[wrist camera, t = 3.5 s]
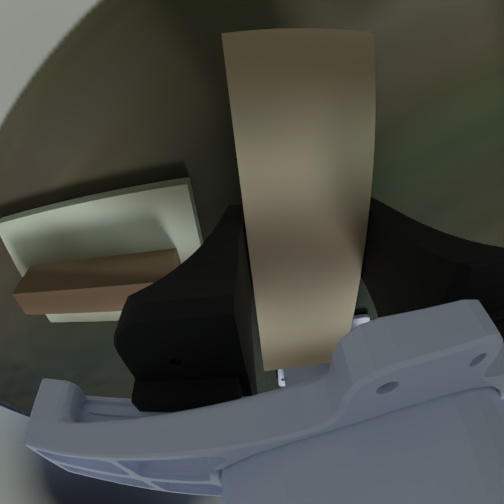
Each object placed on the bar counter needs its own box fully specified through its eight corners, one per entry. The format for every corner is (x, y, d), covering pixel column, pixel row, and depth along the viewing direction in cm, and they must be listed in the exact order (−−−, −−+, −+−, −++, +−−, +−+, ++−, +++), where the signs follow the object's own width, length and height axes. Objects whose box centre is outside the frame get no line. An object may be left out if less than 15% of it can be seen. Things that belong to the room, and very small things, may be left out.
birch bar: (327, 304, 18) (343, 360, 14) (258, 312, 18) (264, 370, 15) (331, 36, 9) (373, 31, 6) (225, 40, 10) (221, 33, 6)
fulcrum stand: (217, 303, 23) (216, 347, 20) (54, 313, 23) (39, 348, 20) (189, 177, 17) (178, 210, 14) (2, 217, 17) (-27, 249, 14)
